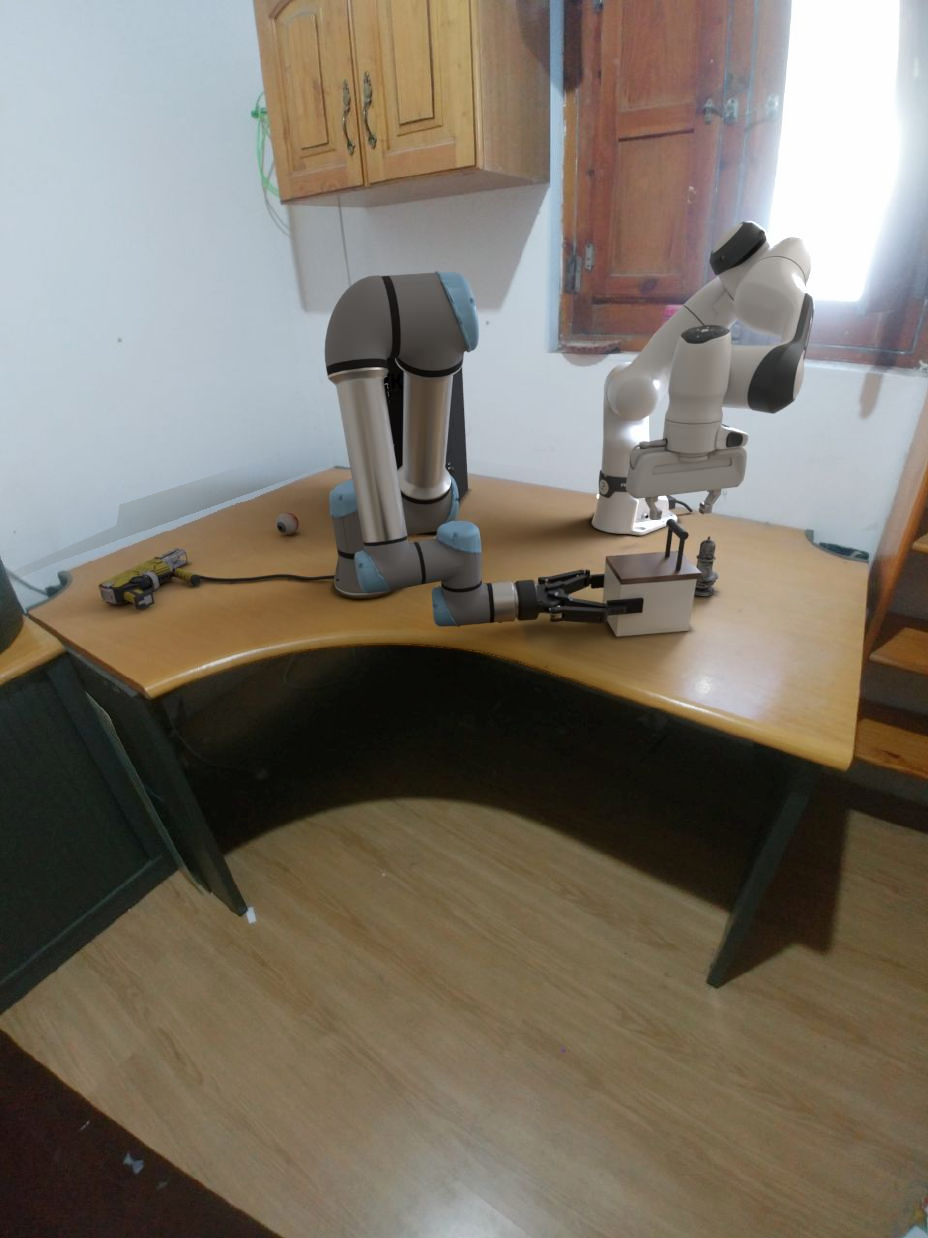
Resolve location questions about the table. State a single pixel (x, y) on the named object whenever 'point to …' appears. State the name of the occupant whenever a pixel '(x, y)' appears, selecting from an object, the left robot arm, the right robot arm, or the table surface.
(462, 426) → the cardboard box
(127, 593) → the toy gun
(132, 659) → the table surface
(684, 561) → the lid
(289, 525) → the eyeball
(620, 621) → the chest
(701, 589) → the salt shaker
